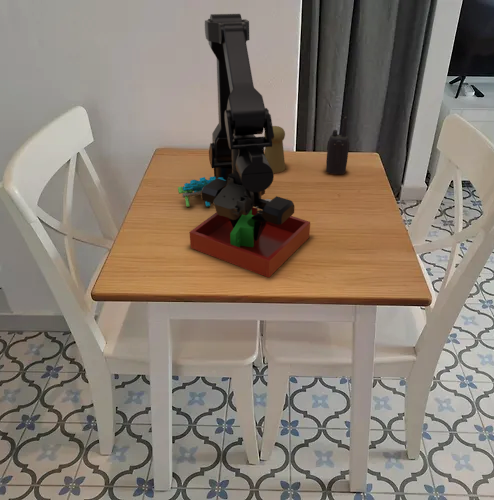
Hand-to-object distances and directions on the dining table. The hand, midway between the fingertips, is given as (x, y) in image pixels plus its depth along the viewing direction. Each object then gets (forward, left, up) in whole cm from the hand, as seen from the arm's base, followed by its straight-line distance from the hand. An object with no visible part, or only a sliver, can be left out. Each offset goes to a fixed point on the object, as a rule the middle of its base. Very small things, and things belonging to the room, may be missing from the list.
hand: (247, 236), depth 113 cm
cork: (-13, +33, -1) cm, 36 cm away
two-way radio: (+2, +39, -1) cm, 39 cm away
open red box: (+1, 0, -1) cm, 2 cm away
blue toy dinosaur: (-18, +9, -1) cm, 20 cm away
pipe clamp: (0, 0, -1) cm, 1 cm away
